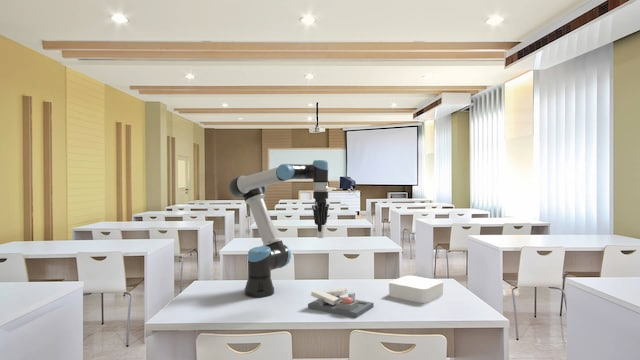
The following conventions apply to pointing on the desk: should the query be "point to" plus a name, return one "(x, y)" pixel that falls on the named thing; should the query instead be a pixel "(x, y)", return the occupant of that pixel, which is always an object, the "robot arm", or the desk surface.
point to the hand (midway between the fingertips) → (320, 237)
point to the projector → (416, 289)
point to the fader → (352, 295)
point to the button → (347, 300)
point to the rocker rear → (336, 292)
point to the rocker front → (325, 297)
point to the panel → (342, 307)
